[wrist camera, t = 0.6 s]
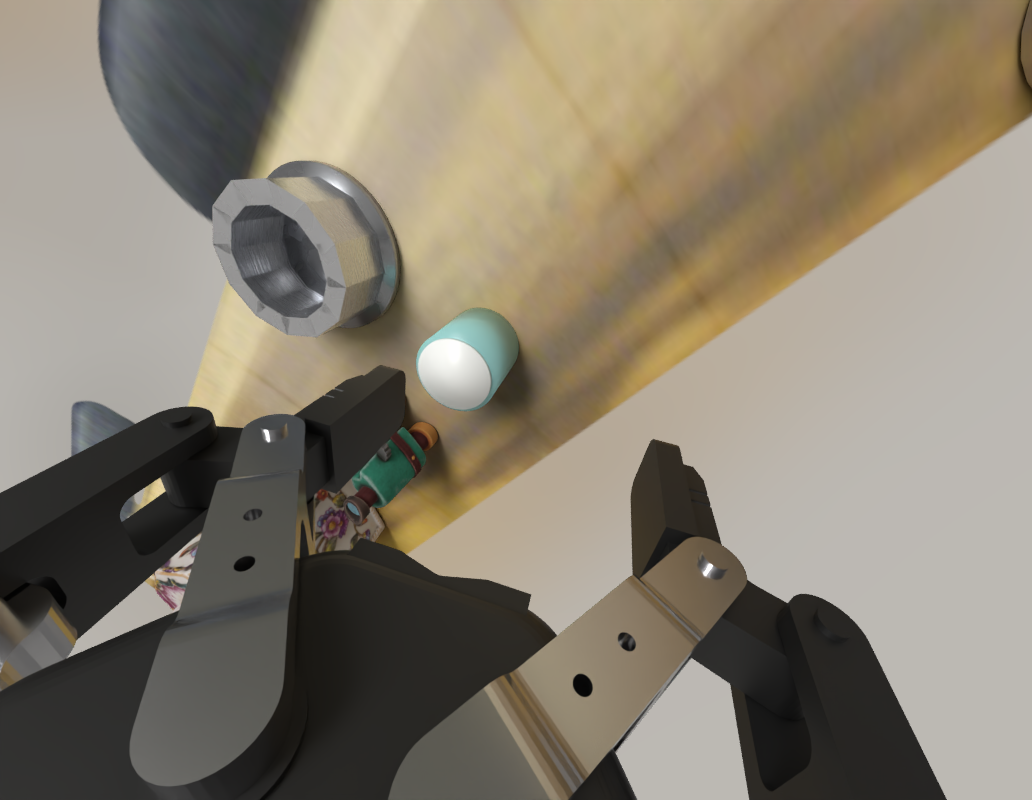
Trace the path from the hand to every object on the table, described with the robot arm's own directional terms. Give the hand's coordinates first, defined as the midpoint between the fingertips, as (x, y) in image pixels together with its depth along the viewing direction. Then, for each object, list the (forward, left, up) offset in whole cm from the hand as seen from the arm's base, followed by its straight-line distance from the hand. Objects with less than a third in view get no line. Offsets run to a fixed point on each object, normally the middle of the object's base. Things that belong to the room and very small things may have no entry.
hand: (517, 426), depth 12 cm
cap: (+9, 0, -17) cm, 19 cm away
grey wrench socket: (+16, -12, -17) cm, 26 cm away
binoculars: (+23, +3, -17) cm, 29 cm away
